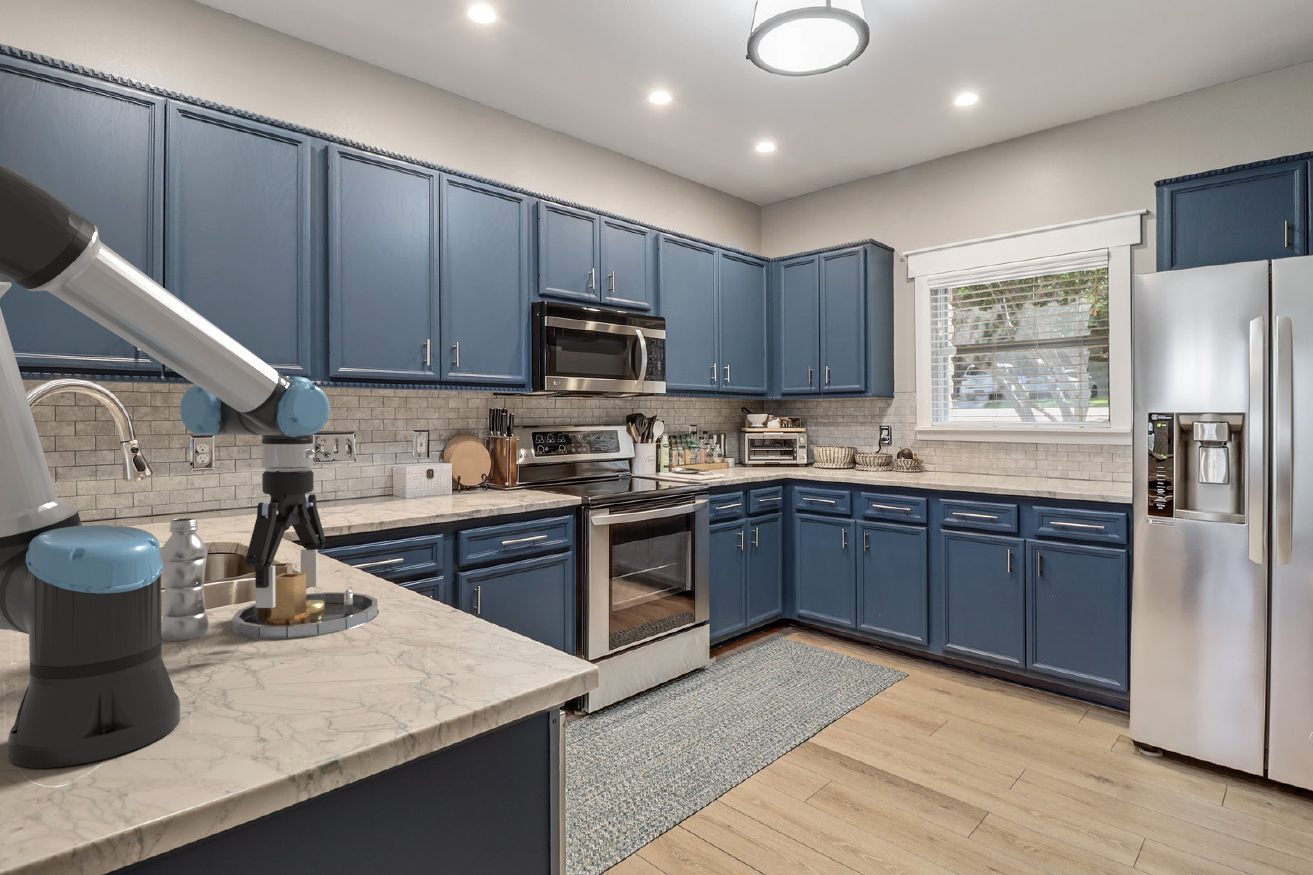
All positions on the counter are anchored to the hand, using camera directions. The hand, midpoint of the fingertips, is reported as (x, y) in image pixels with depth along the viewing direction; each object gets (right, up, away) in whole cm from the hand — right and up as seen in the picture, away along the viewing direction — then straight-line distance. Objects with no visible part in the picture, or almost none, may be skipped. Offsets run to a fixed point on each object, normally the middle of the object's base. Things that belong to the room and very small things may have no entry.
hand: (288, 596), depth 114 cm
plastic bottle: (-15, -7, -3) cm, 17 cm away
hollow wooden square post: (0, -5, 0) cm, 5 cm away
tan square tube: (-6, -5, +8) cm, 12 cm away
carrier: (0, -7, +7) cm, 9 cm away
